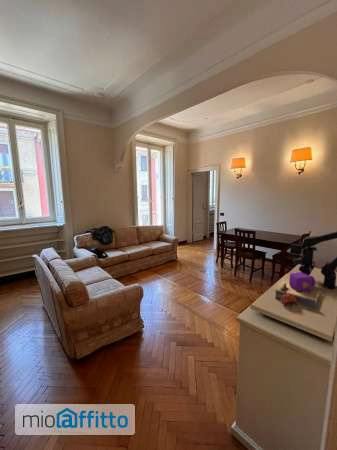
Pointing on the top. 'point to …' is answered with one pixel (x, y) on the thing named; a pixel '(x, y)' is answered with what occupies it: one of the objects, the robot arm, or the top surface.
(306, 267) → the robot arm
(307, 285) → the toy camera
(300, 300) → the guide bay
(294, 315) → the top surface
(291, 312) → the top surface
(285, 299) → the pomegranate
